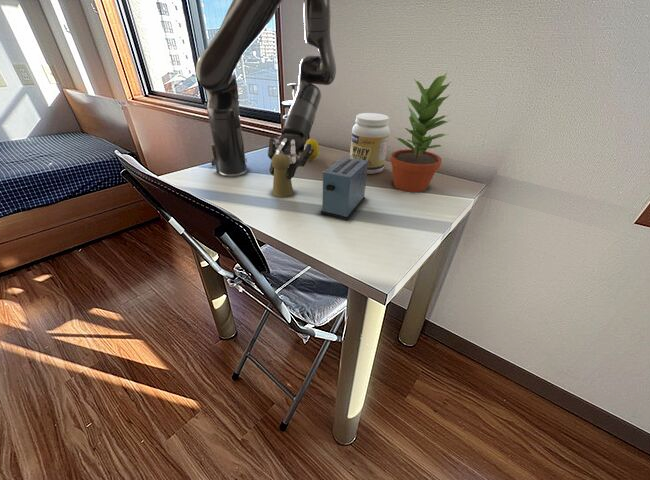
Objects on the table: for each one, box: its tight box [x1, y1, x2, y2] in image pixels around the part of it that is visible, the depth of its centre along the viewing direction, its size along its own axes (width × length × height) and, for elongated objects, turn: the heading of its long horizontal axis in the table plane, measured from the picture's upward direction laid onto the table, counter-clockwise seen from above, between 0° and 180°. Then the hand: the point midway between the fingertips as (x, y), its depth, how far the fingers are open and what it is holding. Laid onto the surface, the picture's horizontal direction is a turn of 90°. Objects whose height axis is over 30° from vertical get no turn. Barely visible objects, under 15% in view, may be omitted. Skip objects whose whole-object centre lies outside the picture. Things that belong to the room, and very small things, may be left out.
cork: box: [270, 154, 294, 198], centre depth 84 cm, size 6×6×11 cm
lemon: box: [306, 137, 320, 162], centre depth 107 cm, size 6×6×8 cm
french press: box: [281, 83, 311, 152], centre depth 115 cm, size 12×9×23 cm
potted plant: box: [390, 72, 452, 193], centre depth 83 cm, size 15×15×30 cm
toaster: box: [320, 156, 368, 221], centre depth 77 cm, size 8×14×11 cm, turn 154°
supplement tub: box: [349, 112, 391, 175], centre depth 99 cm, size 12×12×17 cm
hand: (280, 175), depth 84 cm, fingers closed on cork, 5 cm apart
